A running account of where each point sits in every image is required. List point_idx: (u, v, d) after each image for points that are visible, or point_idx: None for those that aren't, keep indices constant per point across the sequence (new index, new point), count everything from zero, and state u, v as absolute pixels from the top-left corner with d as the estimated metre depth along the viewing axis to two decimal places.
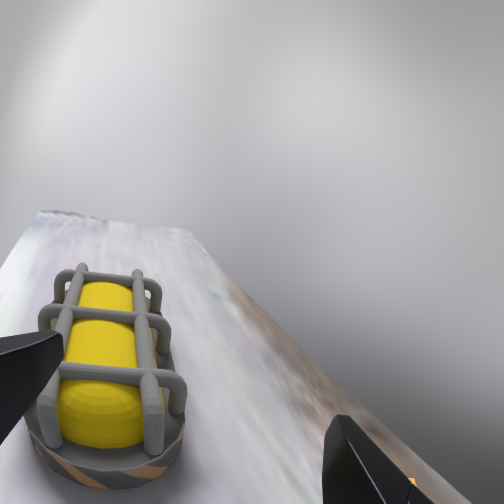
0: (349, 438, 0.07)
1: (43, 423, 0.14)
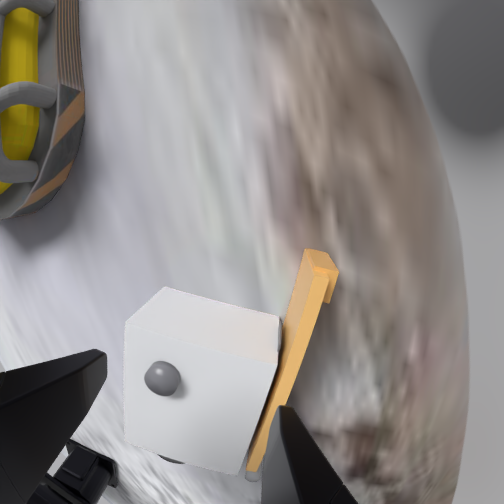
0: (283, 429, 0.07)
1: None
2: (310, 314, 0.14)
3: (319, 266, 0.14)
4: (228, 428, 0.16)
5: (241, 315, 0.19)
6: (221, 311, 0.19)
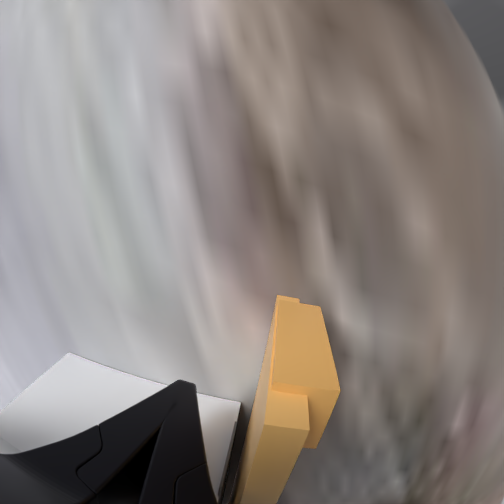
0: (171, 401, 0.07)
1: None
2: (265, 488, 0.05)
3: (288, 380, 0.05)
4: None
5: None
6: (138, 402, 0.10)
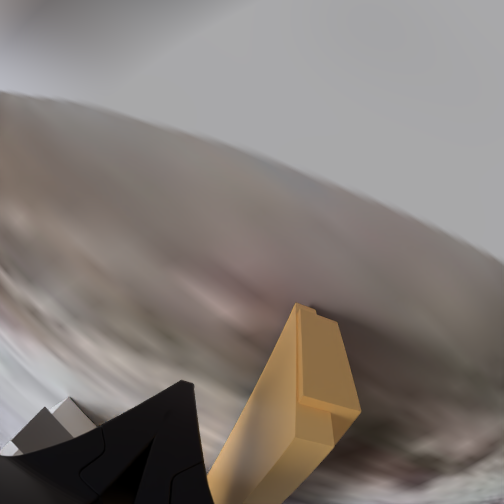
0: (169, 401, 0.07)
1: None
2: (271, 493, 0.05)
3: (315, 395, 0.05)
4: None
5: None
6: None
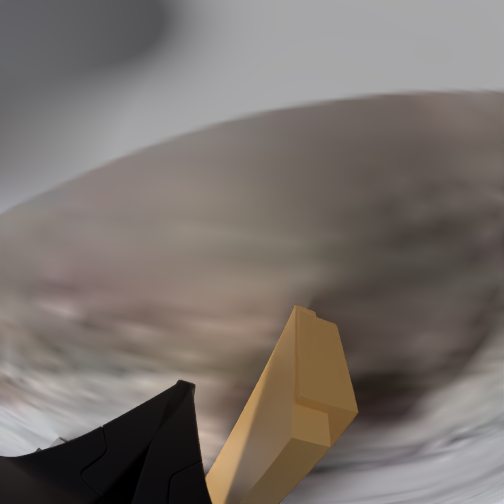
0: (167, 400, 0.07)
1: None
2: (268, 493, 0.05)
3: (313, 396, 0.05)
4: None
5: None
6: None
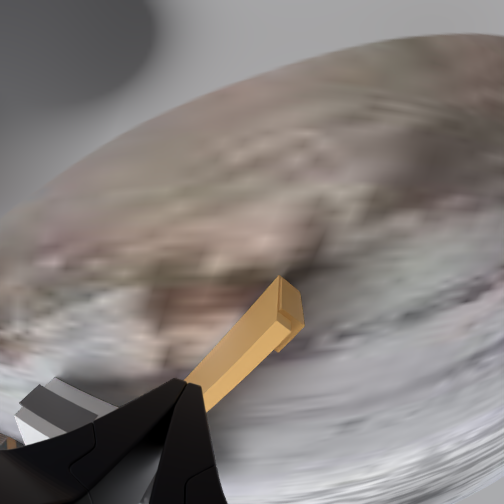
0: (178, 403, 0.07)
1: None
2: (252, 358, 0.11)
3: (286, 310, 0.12)
4: None
5: None
6: None
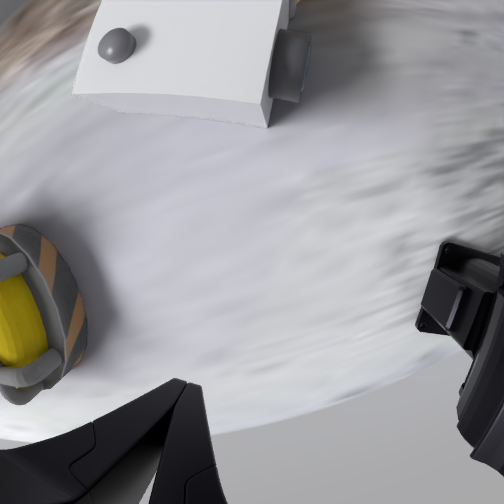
0: (178, 404, 0.07)
1: (40, 376, 0.17)
2: None
3: None
4: None
5: None
6: None
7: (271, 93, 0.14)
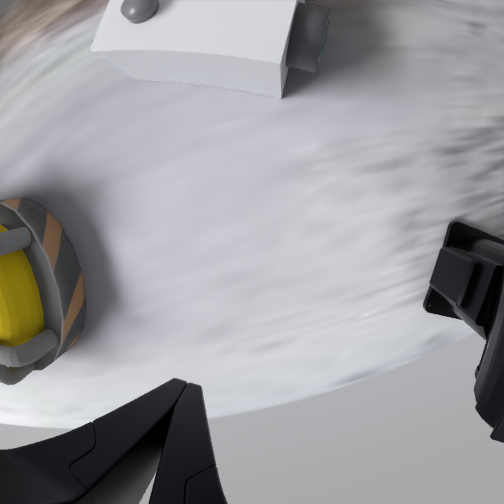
0: (178, 404, 0.07)
1: (35, 356, 0.16)
2: None
3: None
4: None
5: None
6: None
7: (289, 60, 0.14)
